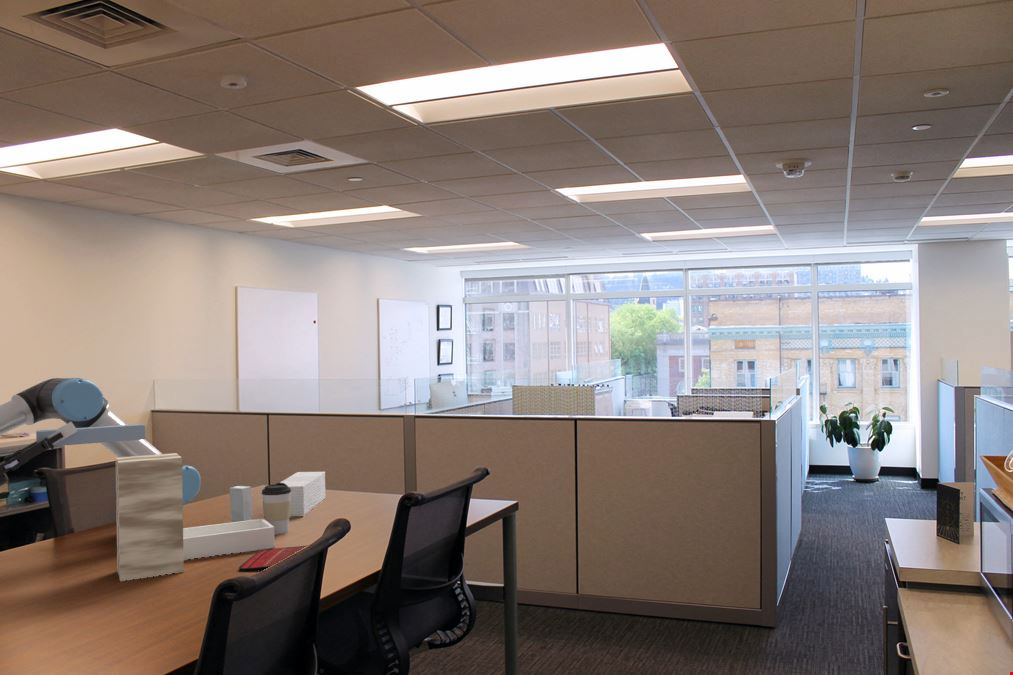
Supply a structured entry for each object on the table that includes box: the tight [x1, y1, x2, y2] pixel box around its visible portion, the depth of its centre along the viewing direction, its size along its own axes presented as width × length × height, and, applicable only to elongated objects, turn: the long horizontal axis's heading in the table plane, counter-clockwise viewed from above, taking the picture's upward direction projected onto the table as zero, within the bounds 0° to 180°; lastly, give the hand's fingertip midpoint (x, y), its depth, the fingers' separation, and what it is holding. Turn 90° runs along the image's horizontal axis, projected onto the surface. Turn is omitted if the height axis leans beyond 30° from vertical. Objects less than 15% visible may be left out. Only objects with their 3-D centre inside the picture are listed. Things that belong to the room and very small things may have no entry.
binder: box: [238, 544, 309, 572], centre depth 220 cm, size 16×2×21 cm
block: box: [35, 423, 146, 447], centre depth 217 cm, size 4×26×4 cm, turn 120°
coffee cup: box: [261, 482, 291, 535], centre depth 254 cm, size 9×9×15 cm
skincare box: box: [229, 485, 254, 523], centre depth 268 cm, size 6×4×12 cm
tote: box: [183, 518, 276, 561], centre depth 232 cm, size 14×33×6 cm, turn 119°
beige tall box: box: [115, 452, 185, 582], centre depth 211 cm, size 11×15×30 cm
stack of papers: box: [279, 471, 326, 516], centre depth 292 cm, size 32×11×11 cm, turn 0°
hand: (74, 426), depth 215 cm, fingers closed on block, 4 cm apart
